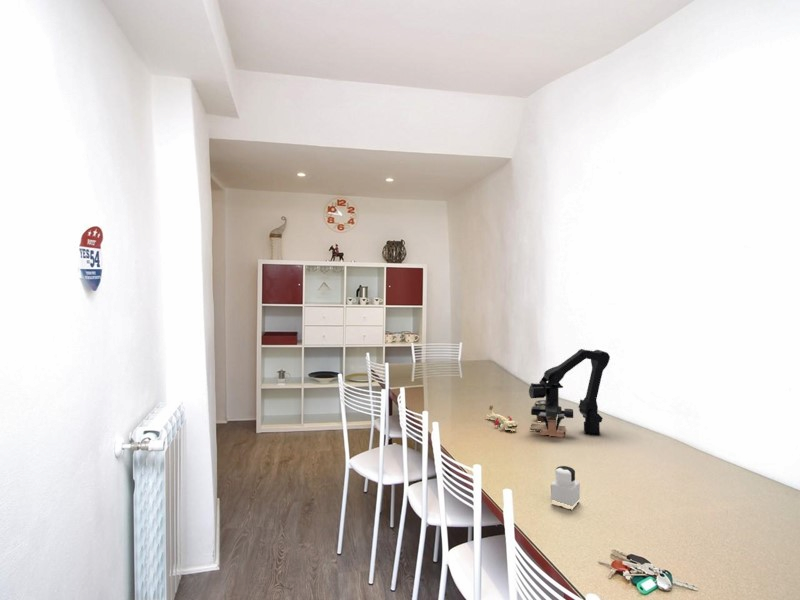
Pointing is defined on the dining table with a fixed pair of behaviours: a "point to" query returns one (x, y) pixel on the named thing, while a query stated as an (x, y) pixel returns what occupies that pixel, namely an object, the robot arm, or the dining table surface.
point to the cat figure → (502, 420)
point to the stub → (552, 430)
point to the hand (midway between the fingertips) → (552, 429)
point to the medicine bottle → (565, 486)
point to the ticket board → (542, 426)
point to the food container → (542, 405)
